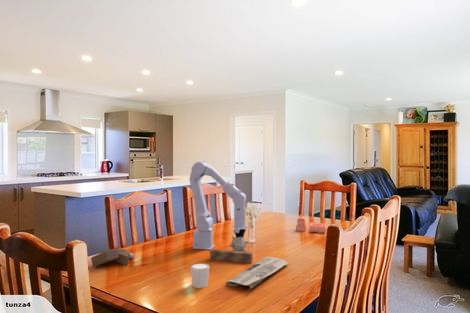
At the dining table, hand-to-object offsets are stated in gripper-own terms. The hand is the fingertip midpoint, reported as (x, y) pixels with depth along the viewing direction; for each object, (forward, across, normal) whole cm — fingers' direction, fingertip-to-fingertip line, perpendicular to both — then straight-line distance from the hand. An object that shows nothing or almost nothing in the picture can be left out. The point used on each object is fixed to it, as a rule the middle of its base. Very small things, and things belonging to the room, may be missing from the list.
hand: (239, 243), depth 171 cm
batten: (+3, -17, 0) cm, 17 cm away
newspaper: (+4, -31, -15) cm, 35 cm away
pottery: (+4, +51, -33) cm, 61 cm away
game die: (+3, -4, 0) cm, 5 cm away
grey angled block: (+3, -33, +48) cm, 59 cm away
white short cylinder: (+3, -47, +4) cm, 48 cm away
